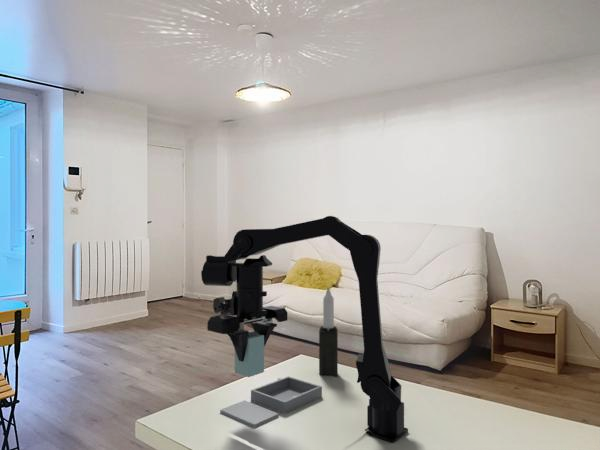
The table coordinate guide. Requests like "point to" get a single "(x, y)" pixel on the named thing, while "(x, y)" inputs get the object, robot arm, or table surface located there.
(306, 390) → the case
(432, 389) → the table surface
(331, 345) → the black grey pointed bar
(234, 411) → the lid panel
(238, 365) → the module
